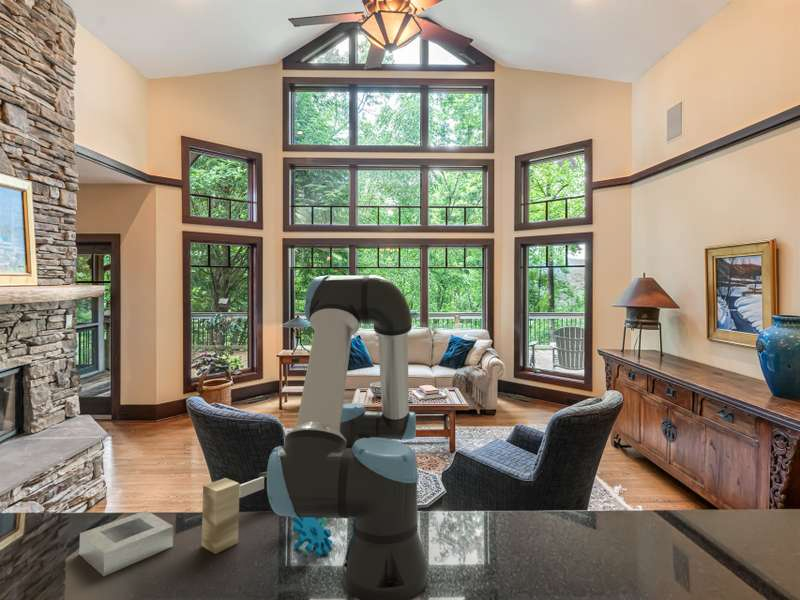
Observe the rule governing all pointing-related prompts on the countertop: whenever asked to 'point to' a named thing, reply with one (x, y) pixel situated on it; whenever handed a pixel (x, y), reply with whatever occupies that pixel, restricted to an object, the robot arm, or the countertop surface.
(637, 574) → the countertop surface
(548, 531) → the countertop surface
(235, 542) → the upright pine post
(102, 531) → the grey square frame block
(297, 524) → the blue lumpy piece
